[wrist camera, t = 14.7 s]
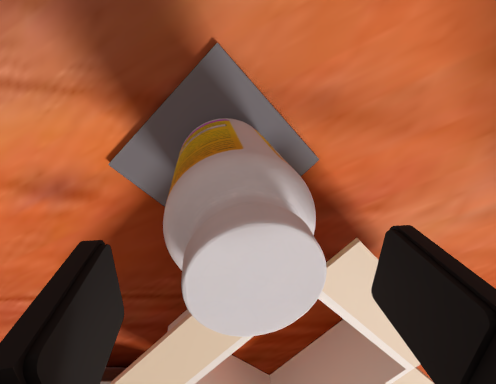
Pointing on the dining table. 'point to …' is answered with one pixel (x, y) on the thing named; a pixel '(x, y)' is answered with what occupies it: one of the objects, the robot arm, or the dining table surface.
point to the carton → (305, 362)
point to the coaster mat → (201, 111)
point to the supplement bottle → (242, 232)
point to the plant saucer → (111, 374)
